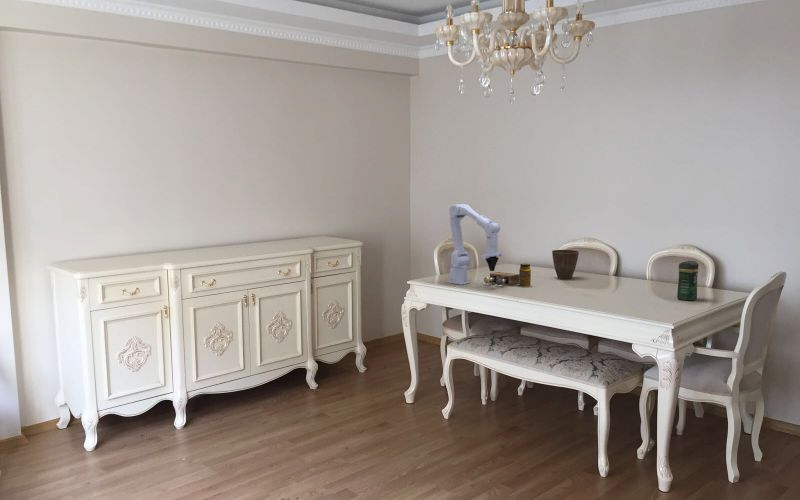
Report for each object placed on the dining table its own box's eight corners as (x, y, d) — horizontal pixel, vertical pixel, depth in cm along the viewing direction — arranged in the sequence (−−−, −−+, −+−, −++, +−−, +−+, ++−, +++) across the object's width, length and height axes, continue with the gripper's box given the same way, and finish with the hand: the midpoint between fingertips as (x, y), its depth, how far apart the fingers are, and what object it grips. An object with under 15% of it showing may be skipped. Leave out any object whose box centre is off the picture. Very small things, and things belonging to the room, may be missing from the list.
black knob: (495, 284, 359) (495, 278, 359) (505, 282, 366) (505, 276, 365) (500, 285, 357) (500, 279, 357) (510, 283, 363) (510, 277, 363)
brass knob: (484, 283, 365) (484, 276, 365) (493, 281, 371) (494, 275, 371) (488, 283, 363) (488, 277, 362) (498, 281, 369) (498, 275, 368)
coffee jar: (691, 301, 313) (693, 262, 311) (674, 299, 319) (676, 261, 317) (699, 298, 320) (701, 260, 318) (682, 296, 326) (684, 259, 324)
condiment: (534, 286, 360) (534, 264, 359) (522, 288, 355) (522, 265, 354) (524, 284, 366) (524, 262, 365) (513, 286, 362) (513, 264, 360)
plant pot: (583, 279, 382) (584, 251, 380) (565, 281, 373) (566, 253, 371) (563, 276, 394) (564, 249, 392) (546, 278, 385) (546, 251, 384)
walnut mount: (489, 283, 371) (489, 273, 370) (498, 281, 376) (498, 271, 376) (510, 286, 361) (510, 275, 360) (519, 284, 366) (519, 274, 366)
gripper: (489, 247, 344) (489, 273, 346) (506, 244, 354) (506, 270, 356) (478, 246, 349) (478, 271, 351) (495, 243, 359) (495, 268, 361)
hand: (491, 270), depth 353 cm, fingers closed
